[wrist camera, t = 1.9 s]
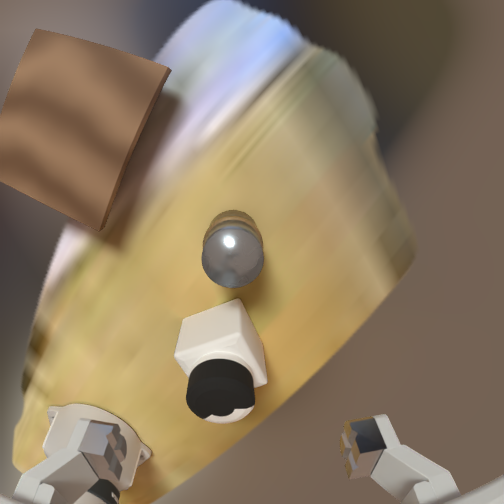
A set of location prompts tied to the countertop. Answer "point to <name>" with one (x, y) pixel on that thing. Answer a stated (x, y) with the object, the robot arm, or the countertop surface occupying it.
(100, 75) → the walnut stand
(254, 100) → the countertop surface
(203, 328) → the medicine bottle
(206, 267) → the grey metal cylinder
